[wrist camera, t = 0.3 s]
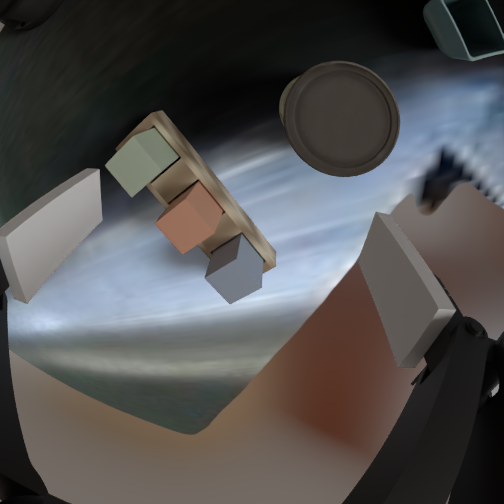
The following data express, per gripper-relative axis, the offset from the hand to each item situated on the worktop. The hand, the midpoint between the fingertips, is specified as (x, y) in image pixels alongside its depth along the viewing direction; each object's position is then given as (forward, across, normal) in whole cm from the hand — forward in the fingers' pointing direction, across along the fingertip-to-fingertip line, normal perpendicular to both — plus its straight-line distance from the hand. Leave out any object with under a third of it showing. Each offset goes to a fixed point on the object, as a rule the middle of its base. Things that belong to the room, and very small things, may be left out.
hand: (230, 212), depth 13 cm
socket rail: (+27, -6, -11) cm, 29 cm away
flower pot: (+27, +23, +23) cm, 42 cm away
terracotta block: (+24, -6, -11) cm, 27 cm away
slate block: (+23, 0, -17) cm, 29 cm away
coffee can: (+27, +8, +4) cm, 28 cm away
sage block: (+24, -12, -4) cm, 27 cm away
